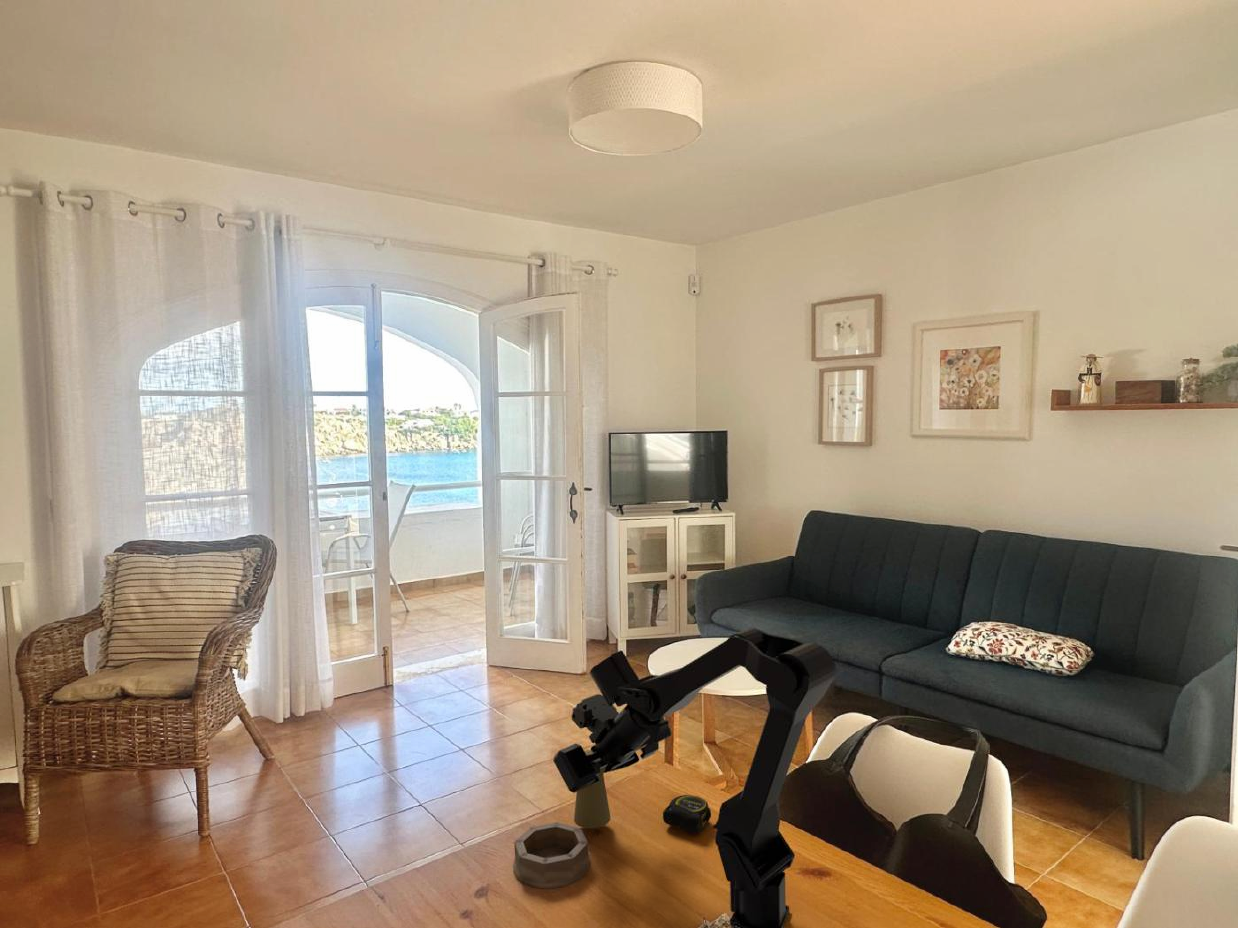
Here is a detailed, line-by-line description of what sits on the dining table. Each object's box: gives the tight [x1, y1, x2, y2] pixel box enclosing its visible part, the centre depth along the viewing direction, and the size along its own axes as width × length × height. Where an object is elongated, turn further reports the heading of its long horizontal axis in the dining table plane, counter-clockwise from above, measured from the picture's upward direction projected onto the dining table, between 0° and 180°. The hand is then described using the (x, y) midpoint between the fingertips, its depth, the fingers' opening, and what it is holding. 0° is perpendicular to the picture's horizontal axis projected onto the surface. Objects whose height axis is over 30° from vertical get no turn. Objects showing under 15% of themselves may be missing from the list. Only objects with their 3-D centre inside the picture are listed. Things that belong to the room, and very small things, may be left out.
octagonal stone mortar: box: [512, 821, 591, 890], centre depth 115 cm, size 12×12×4 cm
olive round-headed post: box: [573, 749, 611, 829], centre depth 124 cm, size 6×6×11 cm
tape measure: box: [662, 794, 712, 835], centre depth 125 cm, size 7×7×4 cm
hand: (585, 776), depth 125 cm, fingers closed on olive round-headed post, 5 cm apart
